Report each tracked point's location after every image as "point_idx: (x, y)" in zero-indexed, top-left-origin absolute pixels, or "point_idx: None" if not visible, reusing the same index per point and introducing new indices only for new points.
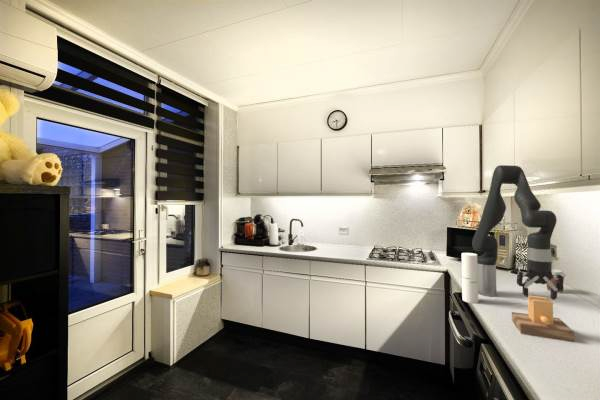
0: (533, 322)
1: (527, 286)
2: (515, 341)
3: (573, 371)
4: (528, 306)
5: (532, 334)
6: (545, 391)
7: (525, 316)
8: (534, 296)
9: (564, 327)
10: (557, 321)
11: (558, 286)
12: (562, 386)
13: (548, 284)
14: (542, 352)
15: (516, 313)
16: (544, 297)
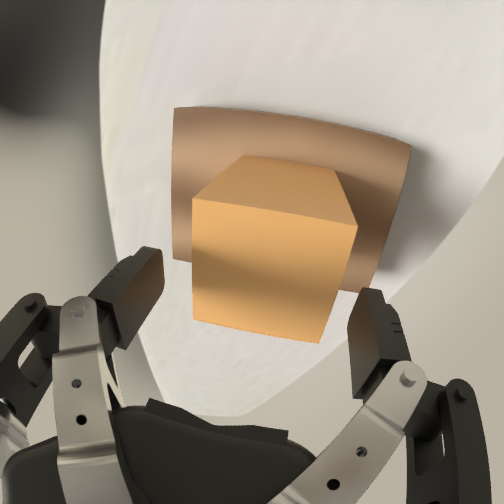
0: None
1: (108, 367)
2: None
3: (244, 386)
4: (225, 172)
5: None
6: None
7: (225, 158)
8: (243, 219)
9: (355, 264)
10: (372, 196)
11: (425, 431)
12: (203, 407)
13: (320, 454)
14: (213, 337)
15: (192, 122)
16: (335, 233)
